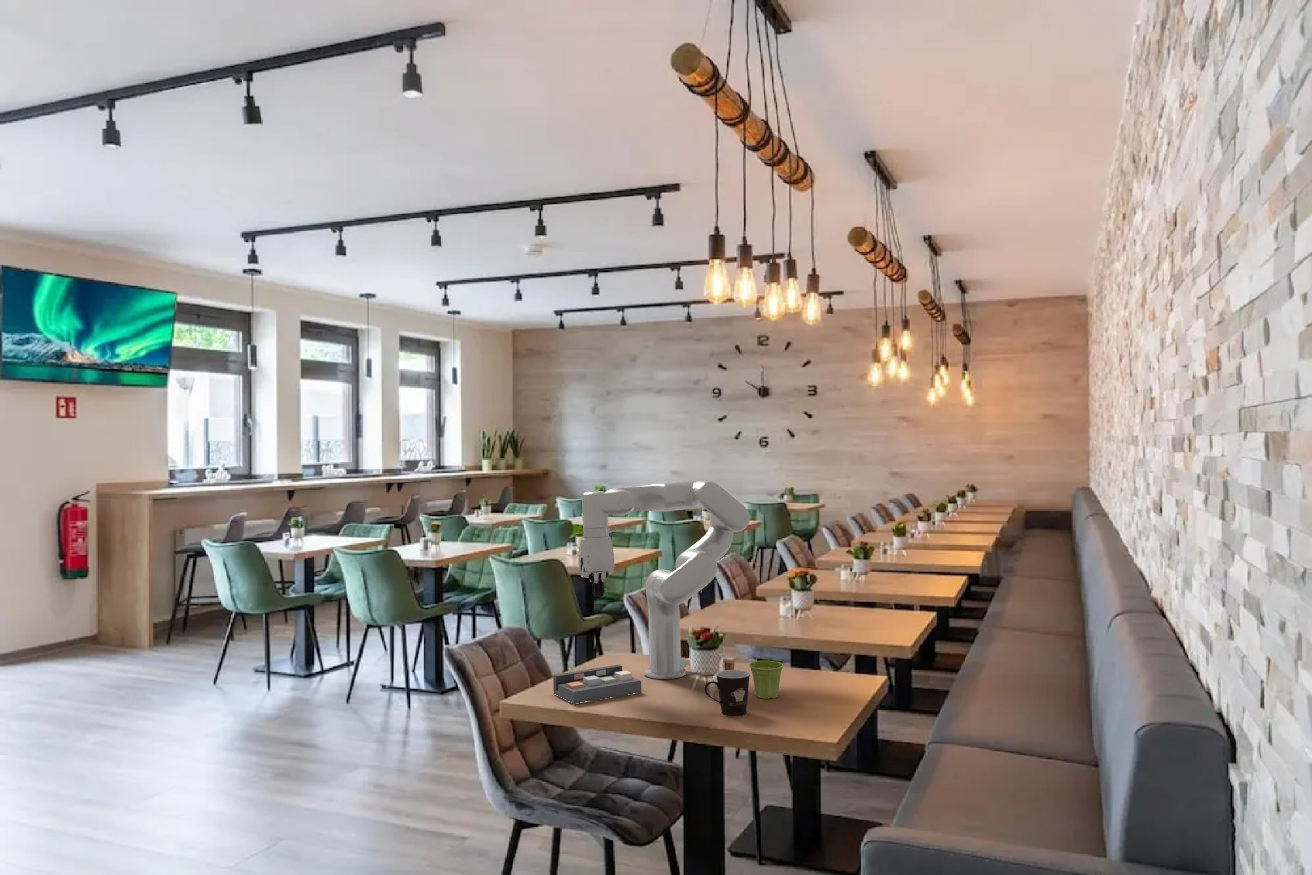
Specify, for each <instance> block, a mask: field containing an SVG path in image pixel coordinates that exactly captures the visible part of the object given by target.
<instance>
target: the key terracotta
mask: <svg viewBox="0 0 1312 875" xmlns="http://www.w3.org/2000/svg"><path fill="white" fill-rule="evenodd" d="M567 687H568V688H570V689H576V688H582V687H584V684H583V683H581V682H573V683H567Z"/></svg>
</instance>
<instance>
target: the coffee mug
mask: <svg viewBox="0 0 1312 875" xmlns="http://www.w3.org/2000/svg"><path fill="white" fill-rule="evenodd" d="M750 676H751V674H750V672H748V671H745V670H742V669H741V670H739V669H727V670H722V671H718V672H716V681H714V680H710V681H708V682H706V683H705V686H704V693H705V695H706V696H707V697H708V698H710V699H711V700H712V701H713V702H714V701H715V702H716V703H718V704H719V705H720V710H721V714H722V715H723V716H727V717H742V716H745V715H746V714H747V709H748V700H749V689H750V688H749V687H750ZM711 684H714V685H716V687H717V689H718V696H719V697H718V698H719V700H718V699H717V698H714V696H711V695H710V694H709V693H708V691H707V689H708V686H709V685H711Z"/></svg>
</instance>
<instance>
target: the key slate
mask: <svg viewBox="0 0 1312 875" xmlns="http://www.w3.org/2000/svg"><path fill="white" fill-rule="evenodd" d="M583 684H584V685H586V686H594V685H600V678H599V677H596V676H589V677H583Z"/></svg>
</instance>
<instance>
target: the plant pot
mask: <svg viewBox="0 0 1312 875" xmlns="http://www.w3.org/2000/svg"><path fill="white" fill-rule="evenodd" d="M748 666H749V668H750V671H751V672H752V679H753V686H754V693H755V696H756V697H757V698H759V699H765V700H767V699H771V698H772V699H775V698H778V697H779V692H780V691H779V689H780V682H781V681H780V680H781V675H782V674H781V673H782V671H783V668H784V664H783V662H779V661H776V660H775V661H774V660H757V661H755V660H754V661H752V662H750V663H749V664H748Z"/></svg>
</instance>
